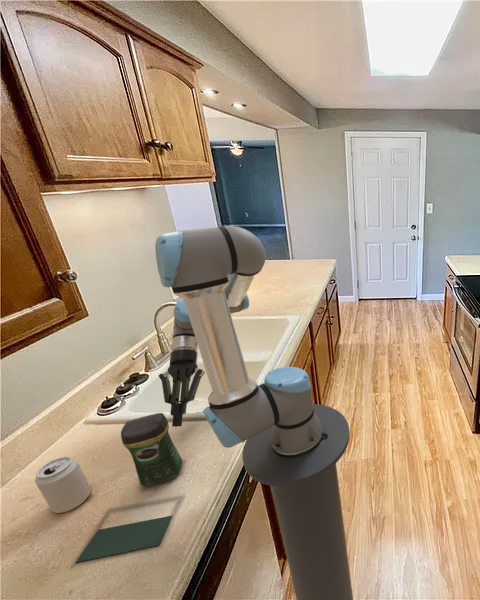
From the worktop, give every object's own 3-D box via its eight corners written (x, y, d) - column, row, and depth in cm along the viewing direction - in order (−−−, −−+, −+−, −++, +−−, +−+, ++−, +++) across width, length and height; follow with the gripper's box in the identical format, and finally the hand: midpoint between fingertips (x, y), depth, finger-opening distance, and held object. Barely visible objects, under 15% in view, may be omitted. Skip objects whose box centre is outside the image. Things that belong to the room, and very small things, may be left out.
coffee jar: (185, 457, 96) (167, 405, 89) (180, 478, 89) (161, 424, 82) (145, 469, 92) (123, 416, 86) (137, 492, 86) (113, 436, 79)
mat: (181, 499, 84) (180, 496, 84) (159, 547, 73) (158, 544, 73) (110, 512, 81) (109, 509, 81) (77, 564, 70) (75, 562, 70)
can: (46, 509, 82) (25, 473, 77) (82, 484, 88) (65, 450, 84) (62, 520, 79) (41, 483, 75) (98, 493, 85) (81, 458, 81)
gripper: (210, 352, 114) (205, 423, 105) (168, 356, 112) (159, 430, 103) (200, 346, 107) (194, 421, 98) (156, 350, 105) (146, 428, 96)
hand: (176, 426), depth 100 cm, fingers closed
